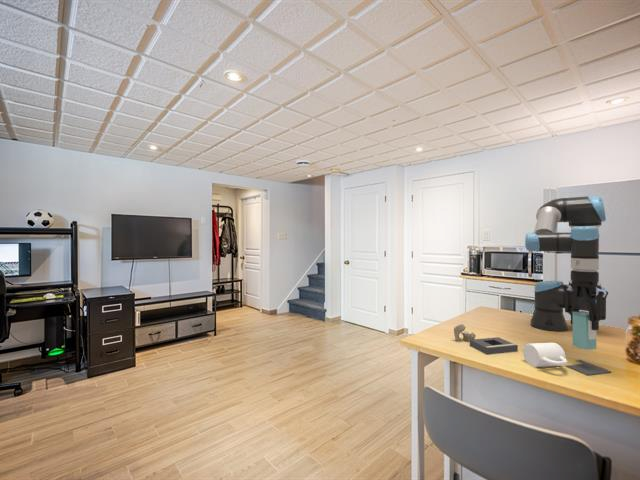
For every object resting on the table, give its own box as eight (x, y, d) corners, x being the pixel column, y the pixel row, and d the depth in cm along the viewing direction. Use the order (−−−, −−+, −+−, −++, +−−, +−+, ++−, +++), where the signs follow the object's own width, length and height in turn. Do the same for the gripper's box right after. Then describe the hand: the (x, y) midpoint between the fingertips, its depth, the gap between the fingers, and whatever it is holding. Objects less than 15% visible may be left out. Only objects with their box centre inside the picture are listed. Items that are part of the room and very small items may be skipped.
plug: (572, 345, 110) (572, 311, 110) (582, 344, 111) (582, 311, 111) (585, 350, 105) (585, 314, 105) (596, 348, 106) (596, 314, 106)
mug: (522, 361, 114) (522, 340, 114) (547, 360, 115) (547, 339, 115) (549, 376, 102) (549, 352, 102) (576, 375, 103) (576, 351, 103)
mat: (580, 360, 114) (580, 359, 114) (611, 372, 104) (611, 371, 104) (558, 363, 112) (558, 362, 112) (587, 375, 102) (587, 374, 102)
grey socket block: (498, 344, 133) (498, 336, 133) (517, 352, 123) (517, 344, 123) (469, 346, 130) (469, 339, 130) (487, 355, 120) (487, 347, 120)
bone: (475, 336, 138) (474, 320, 134) (476, 347, 133) (475, 331, 129) (454, 335, 142) (453, 319, 137) (455, 346, 137) (453, 330, 132)
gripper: (552, 268, 116) (551, 329, 116) (603, 273, 98) (603, 346, 99) (568, 267, 117) (568, 328, 117) (621, 272, 100) (621, 344, 100)
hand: (584, 336), depth 108 cm, fingers closed on plug, 4 cm apart
